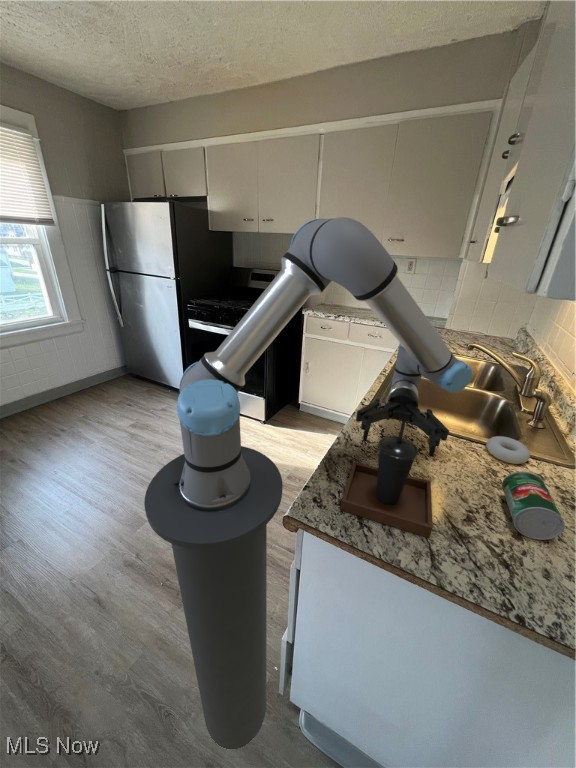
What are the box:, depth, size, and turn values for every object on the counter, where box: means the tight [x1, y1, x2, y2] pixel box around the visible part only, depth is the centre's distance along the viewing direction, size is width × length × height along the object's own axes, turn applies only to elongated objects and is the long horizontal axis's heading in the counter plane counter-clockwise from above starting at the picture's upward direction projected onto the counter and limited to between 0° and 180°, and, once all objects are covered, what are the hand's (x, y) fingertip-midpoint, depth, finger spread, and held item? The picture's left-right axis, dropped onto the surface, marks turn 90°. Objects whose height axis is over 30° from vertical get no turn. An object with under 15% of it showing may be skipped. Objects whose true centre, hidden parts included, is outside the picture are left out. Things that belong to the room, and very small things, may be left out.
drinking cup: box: [376, 419, 419, 506], centre depth 65 cm, size 8×8×20 cm
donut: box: [485, 435, 531, 465], centre depth 85 cm, size 10×4×10 cm
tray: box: [340, 461, 433, 539], centre depth 69 cm, size 18×14×3 cm
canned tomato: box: [501, 471, 566, 541], centre depth 64 cm, size 8×8×11 cm
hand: (397, 443), depth 66 cm, fingers open, 13 cm apart
